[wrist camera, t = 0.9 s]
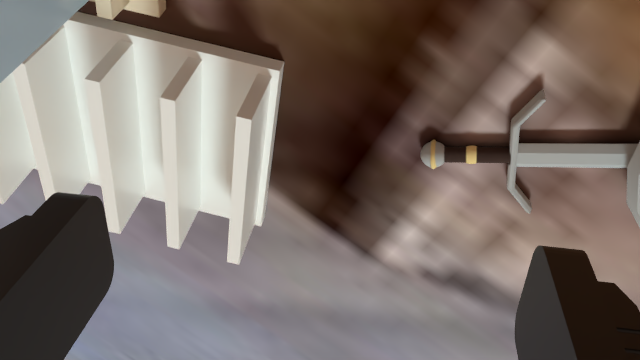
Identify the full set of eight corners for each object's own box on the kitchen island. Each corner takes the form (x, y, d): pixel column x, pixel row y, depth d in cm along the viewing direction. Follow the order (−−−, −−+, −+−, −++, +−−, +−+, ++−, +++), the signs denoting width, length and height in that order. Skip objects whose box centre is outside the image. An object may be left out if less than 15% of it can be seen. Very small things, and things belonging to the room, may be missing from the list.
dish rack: (-81, -27, 34) (-149, 13, 30) (284, 61, 33) (259, 114, 29) (-23, 143, 43) (-70, 190, 39) (264, 216, 42) (244, 270, 38)
